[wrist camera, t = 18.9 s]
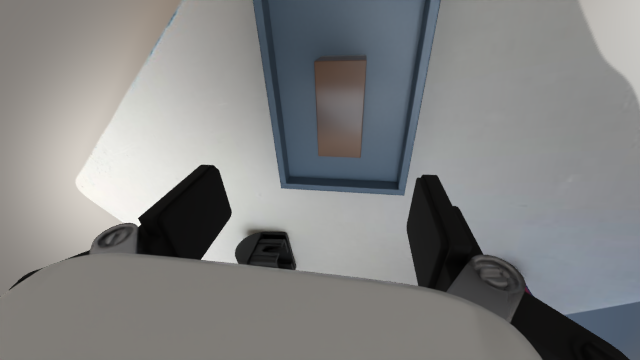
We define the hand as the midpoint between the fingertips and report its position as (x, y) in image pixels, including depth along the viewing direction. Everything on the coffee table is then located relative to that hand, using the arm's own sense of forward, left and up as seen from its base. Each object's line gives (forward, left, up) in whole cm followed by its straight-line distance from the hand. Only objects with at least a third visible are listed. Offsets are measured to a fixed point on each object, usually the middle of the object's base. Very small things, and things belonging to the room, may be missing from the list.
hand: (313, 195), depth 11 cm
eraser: (0, 0, -18) cm, 18 cm away
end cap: (+26, -12, -18) cm, 34 cm away
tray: (0, 0, -18) cm, 18 cm away
